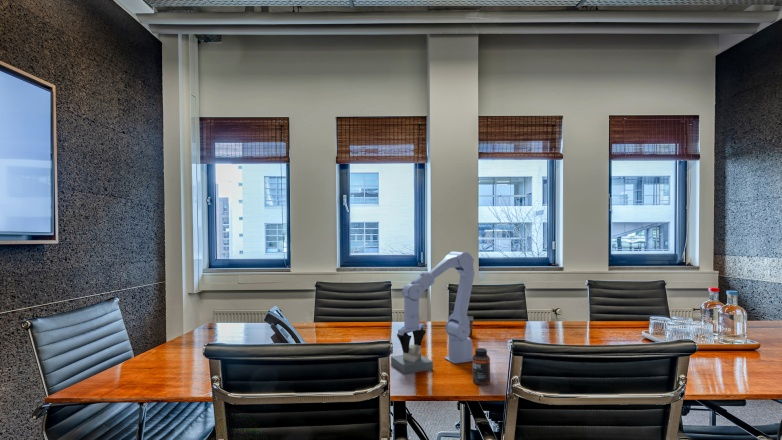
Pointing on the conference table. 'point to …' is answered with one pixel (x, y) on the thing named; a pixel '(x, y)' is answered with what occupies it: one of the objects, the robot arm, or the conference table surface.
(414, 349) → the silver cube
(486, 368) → the supplement bottle
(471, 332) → the food container
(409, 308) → the robot arm
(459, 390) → the conference table surface
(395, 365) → the blue-gray box
